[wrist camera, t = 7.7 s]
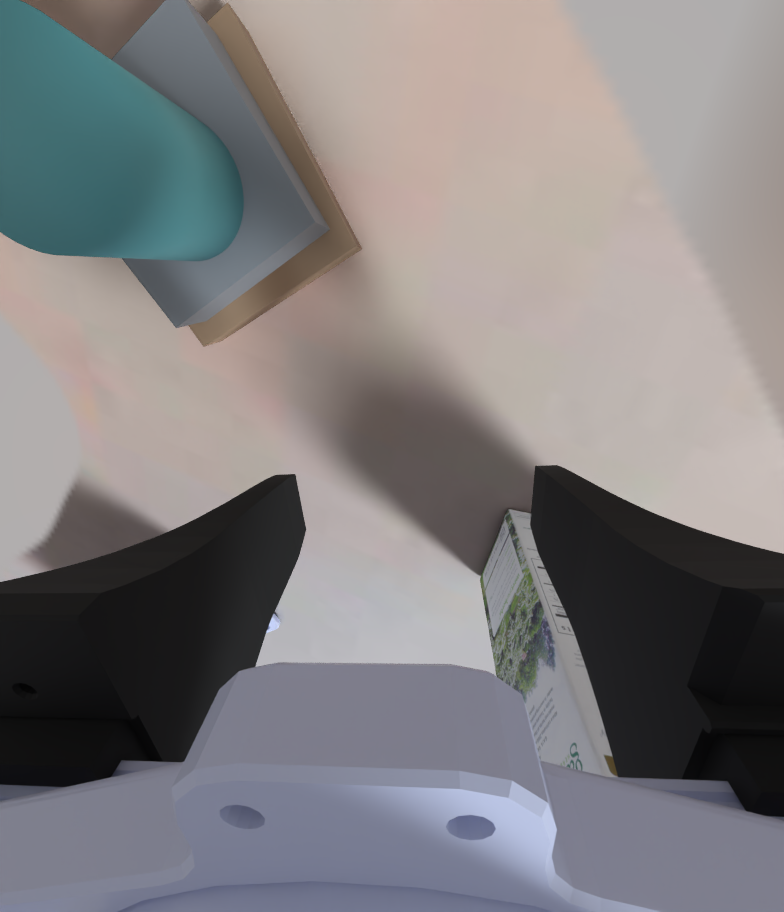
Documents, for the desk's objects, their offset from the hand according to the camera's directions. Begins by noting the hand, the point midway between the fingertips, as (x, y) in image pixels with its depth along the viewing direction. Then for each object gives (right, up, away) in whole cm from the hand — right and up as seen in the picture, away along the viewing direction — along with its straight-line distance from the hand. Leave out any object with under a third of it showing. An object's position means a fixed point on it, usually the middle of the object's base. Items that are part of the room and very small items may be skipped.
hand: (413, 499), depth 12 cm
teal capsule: (-8, +11, +2) cm, 13 cm away
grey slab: (-8, +12, +4) cm, 15 cm away
